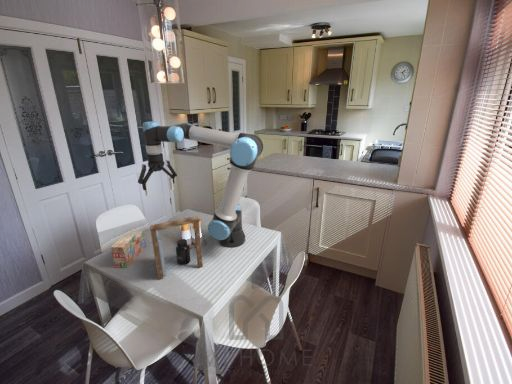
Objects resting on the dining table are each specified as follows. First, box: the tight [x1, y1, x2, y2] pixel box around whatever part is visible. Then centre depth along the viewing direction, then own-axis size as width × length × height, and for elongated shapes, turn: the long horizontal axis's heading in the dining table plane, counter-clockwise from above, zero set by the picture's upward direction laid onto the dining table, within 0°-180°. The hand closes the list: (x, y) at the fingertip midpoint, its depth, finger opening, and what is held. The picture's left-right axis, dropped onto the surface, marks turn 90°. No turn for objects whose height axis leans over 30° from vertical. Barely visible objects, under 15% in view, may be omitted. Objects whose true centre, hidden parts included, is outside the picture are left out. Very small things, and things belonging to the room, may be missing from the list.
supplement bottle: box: [175, 238, 192, 266], centre depth 136 cm, size 7×7×12 cm
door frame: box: [149, 215, 204, 280], centre depth 126 cm, size 21×2×27 cm, turn 117°
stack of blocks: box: [110, 230, 147, 269], centre depth 142 cm, size 21×6×12 cm, turn 177°
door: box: [156, 230, 167, 277], centre depth 130 cm, size 14×2×18 cm, turn 27°
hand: (160, 192), depth 144 cm, fingers open, 13 cm apart
